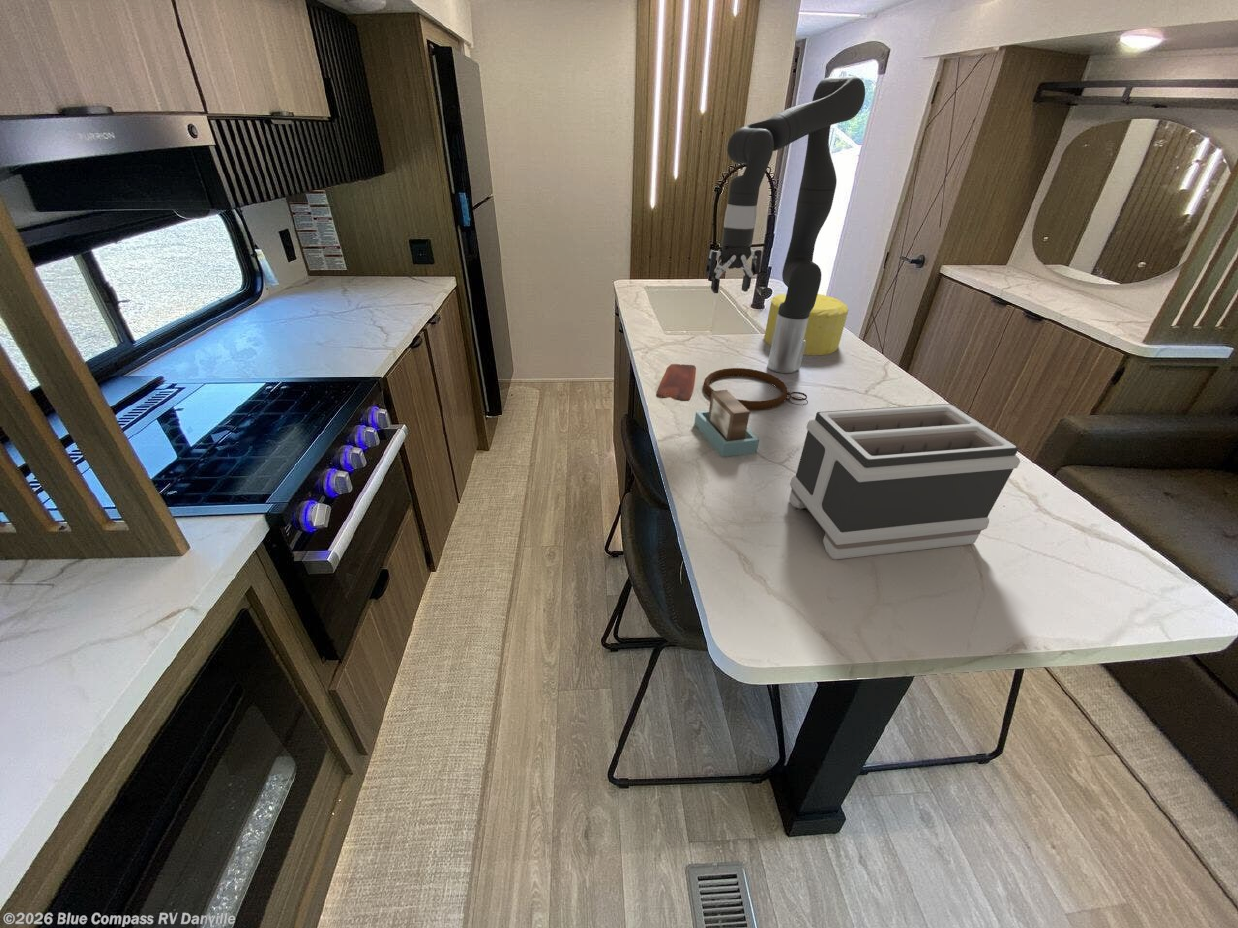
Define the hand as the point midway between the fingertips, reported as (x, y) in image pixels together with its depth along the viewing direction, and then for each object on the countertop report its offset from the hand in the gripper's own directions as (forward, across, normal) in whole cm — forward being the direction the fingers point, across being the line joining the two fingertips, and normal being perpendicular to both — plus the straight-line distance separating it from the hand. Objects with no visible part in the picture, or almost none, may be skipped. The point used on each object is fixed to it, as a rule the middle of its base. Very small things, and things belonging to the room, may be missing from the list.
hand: (729, 291), depth 135 cm
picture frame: (+27, +10, +26) cm, 39 cm away
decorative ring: (+29, -10, +5) cm, 31 cm away
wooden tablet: (+29, +8, -8) cm, 31 cm away
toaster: (+28, -7, +64) cm, 70 cm away
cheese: (+28, -48, -31) cm, 64 cm away
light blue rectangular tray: (+28, +10, +26) cm, 40 cm away
